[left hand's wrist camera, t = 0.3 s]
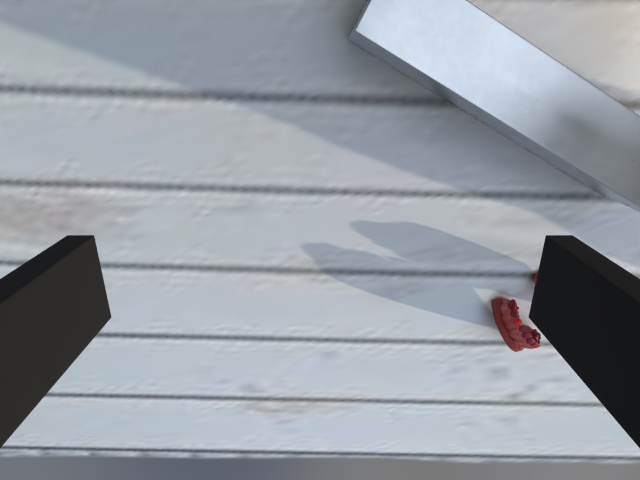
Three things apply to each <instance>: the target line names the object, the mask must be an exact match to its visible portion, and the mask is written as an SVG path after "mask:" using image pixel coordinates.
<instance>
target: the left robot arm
mask: <svg viewBox="0 0 640 480" xmlns="http://www.w3.org/2000/svg"><path fill="white" fill-rule="evenodd" d="M110 318H111V314H110V309H109V304H108V299H107V295H106V290H105V285H104V280H103V276H102V271H101V266H100V262H99V257H98V252H97V247H96V243H95V238H94V235H68V236H66V237H64V238H63V239H61V240H60V241H58V242H57V243H55V244H54V245H52V246H51V247H49V248H48V249H46V250H44V251H43V252H41V253H40V254H38V255H37V256H35V257H34V258H32V259H31V260H29V261H28V262H26V263H24V264H23V265H21V266H20V267H18V268H17V269H15V270H14V271H12V272H11V273H9V274H8V275H6V276H4V277H3V278H1V279H0V448H1V447H2V445H3V444H4V443H5V442H6V441H7V439H8V438H9V437H10V436H11V435H12V434H13V432H14V431H15V430H16V429H17V428H18V427H19V425H20V424H21V423H22V422H23V421H24V419H25V418H26V417H27V416H28V415H29V414H30V412H31V411H32V410H33V409H34V408H35V407H36V405H37V404H38V403H39V402H40V401H41V399H42V398H43V397H44V396H45V395H46V394H47V392H48V391H49V390H50V389H51V388H52V387H53V385H54V384H55V383H56V382H57V381H58V379H59V378H60V377H61V376H62V375H63V374H64V372H65V371H66V370H67V369H68V368H69V366H70V365H71V364H72V363H73V362H74V361H75V359H76V358H77V357H78V356H79V355H80V354H81V352H82V351H83V350H84V349H85V348H86V346H87V345H88V344H89V343H90V342H91V341H92V339H93V338H94V337H95V336H96V335H97V334H98V332H99V331H100V330H101V329H102V328H103V326H104V325H105V324H106V323H107V322H108V321H109V319H110ZM529 318H530V319H531V321H532V322H533V323H534V324H535V325H536V326H537V328H538V329H539V330H540V331H541V332H542V334H543V335H544V336H545V337H546V338H547V339H548V341H549V342H550V343H551V344H552V345H553V346H554V348H555V349H556V350H557V351H558V352H559V354H560V355H561V356H562V357H563V358H564V359H565V361H566V362H567V363H568V364H569V365H570V366H571V368H572V369H573V370H574V371H575V372H576V374H577V375H578V376H579V377H580V378H581V379H582V381H583V382H584V383H585V384H586V385H587V387H588V388H589V389H590V390H591V391H592V392H593V394H594V395H595V396H596V397H597V398H598V399H599V401H600V402H601V403H602V404H603V405H604V407H605V408H606V409H607V410H608V411H609V412H610V414H611V415H612V416H613V417H614V418H615V419H616V421H617V422H618V423H619V424H620V425H621V427H622V428H623V429H624V430H625V431H626V432H627V434H628V435H629V436H630V437H631V438H632V439H633V441H634V442H635V443H636V444H637V445H638V447H639V448H640V279H639V278H637V277H636V276H634V275H632V274H631V273H629V272H628V271H626V270H625V269H623V268H622V267H620V266H619V265H617V264H616V263H614V262H612V261H611V260H609V259H608V258H606V257H605V256H603V255H602V254H600V253H599V252H597V251H596V250H594V249H592V248H591V247H589V246H588V245H586V244H585V243H583V242H582V241H580V240H579V239H577V238H576V237H574V236H572V235H546V238H545V243H544V247H543V252H542V257H541V262H540V266H539V271H538V276H537V280H536V285H535V290H534V295H533V299H532V304H531V309H530V313H529Z"/></svg>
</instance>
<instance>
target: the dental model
mask: <svg viewBox="0 0 640 480" xmlns="http://www.w3.org/2000/svg"><path fill="white" fill-rule="evenodd" d="M537 276H538V273H537V274H536V275H535V276H534V282H535V285H536V280H537ZM534 289H535V288H534ZM491 303H492V310H493V315H494V318H495V322H496V324H497V327H498V329H499V332H500V334H501V336H502V337H503V339H504V341H505V342H506V344H507V345H508V346H509V348H510V349H511V350H513V351H515V352H517V351H521V350H523V349H524V348H529V349H533V348H537V347H539V346H540V345H539V344H540V341H539V340H540V339H541V337H540V336H541V335H540V333H538V332H537V330H536V329H534V330H533V329H532V328H531V327H529V326H527V325H522V321H521V319H519V317H520V316H519V315H518V314H519V312H518V311H517V310H518V309H519V307H517V304H516V302H515V300H511V301H510V300H508V299H505V298H501V297H500V298H497V299H494V300H492V301H491Z"/></svg>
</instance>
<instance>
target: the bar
mask: <svg viewBox="0 0 640 480" xmlns="http://www.w3.org/2000/svg"><path fill="white" fill-rule="evenodd" d="M347 40H349V41H350V42H352V43H353V44H355V45H357V46H358V47H360V48H362V49H363V50H365V51H367V52H368V53H370V54H371V55H373V56H375V57H376V58H378V59H380V60H381V61H383V62H385V63H386V64H388V65H389V66H391V67H393V68H394V69H396V70H398V71H399V72H401V73H402V74H404V75H406V76H407V77H409V78H411V79H412V80H414V81H416V82H417V83H419V84H420V85H422V86H424V87H425V88H427V89H429V90H430V91H432V92H434V93H435V94H437V95H438V96H440V97H442V98H443V99H445V100H447V101H448V102H450V103H451V104H453V105H455V106H456V107H458V108H460V109H461V110H463V111H465V112H466V113H468V114H469V115H471V116H473V117H474V118H476V119H478V120H479V121H481V122H483V123H484V124H486V125H487V126H489V127H491V128H492V129H494V130H496V131H497V132H499V133H500V134H502V135H504V136H505V137H507V138H509V139H510V140H512V141H514V142H515V143H517V144H518V145H520V146H522V147H523V148H525V149H527V150H528V151H530V152H532V153H533V154H535V155H536V156H538V157H540V158H541V159H543V160H545V161H546V162H548V163H549V164H551V165H553V166H554V167H556V168H558V169H559V170H561V171H563V172H564V173H566V174H567V175H569V176H571V177H572V178H574V179H576V180H577V181H579V182H580V183H582V184H584V185H585V186H587V187H589V188H590V189H592V190H594V191H595V192H597V193H599V194H601V195H604V196H606V197H608V198H610V199H613V200H615V201H617V202H619V203H622V204H624V205H626V206H628V207H631V208H633V209H635V210H637V211H640V116H639V115H637V114H636V113H634V112H633V111H631V110H630V109H628V108H627V107H625V106H624V105H622V104H621V103H619V102H618V101H616V100H615V99H613V98H612V97H610V96H609V95H607V94H606V93H604V92H603V91H601V90H600V89H598V88H597V87H595V86H594V85H592V84H591V83H589V82H588V81H586V80H585V79H584V78H582V77H581V76H579V75H578V74H576V73H575V72H573V71H572V70H570V69H569V68H567V67H566V66H564V65H563V64H561V63H560V62H558V61H557V60H555V59H554V58H552V57H551V56H549V55H548V54H546V53H545V52H543V51H542V50H540V49H539V48H537V47H536V46H534V45H533V44H531V43H530V42H528V41H527V40H525V39H524V38H522V37H521V36H519V35H518V34H516V33H515V32H513V31H512V30H510V29H509V28H507V27H506V26H504V25H503V24H501V23H500V22H499V21H497V20H496V19H494V18H493V17H491V16H490V15H488V14H487V13H485V12H484V11H482V10H481V9H479V8H478V7H476V6H475V5H473V4H472V3H470V2H469V1H467V0H367V2H366V4H365V6H364V8H363V10H362V12H361V14H360V15H359V17H358V19H357V21H356V23H355V25H354V27H353V29H352V31H351V33H350V35H349V37H348V39H347Z"/></svg>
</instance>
